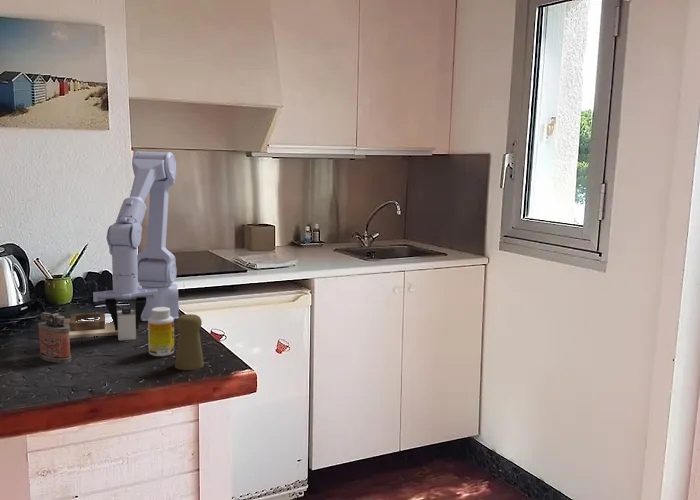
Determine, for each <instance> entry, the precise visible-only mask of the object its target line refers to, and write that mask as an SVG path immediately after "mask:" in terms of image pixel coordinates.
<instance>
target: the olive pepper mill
mask: <svg viewBox="0 0 700 500" xmlns="http://www.w3.org/2000/svg"><path fill="white" fill-rule="evenodd" d="M175 322H176V323H175V325H176V329H177V330H178V338H177V345H176V352H175V353H176V354H175V361H174V362H175V363H174V368H175V369H177V370H180V371H194V370H195V371H196V370H199V369H203V367H204V366H205V362H204V355H203V349H202V342H201V336H200V335H201V334H200V329H201V328H202V319H201V317H200V316H199V315H197V314H192V313H187V314H182V315H180V316H178V319H176V321H175Z"/></svg>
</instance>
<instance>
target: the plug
mask: <svg viewBox="0 0 700 500" xmlns="http://www.w3.org/2000/svg"><path fill="white" fill-rule="evenodd" d="M135 315H136V311H135V309H131V307H123V308H121V310H117V321H118V335H117V337H118V338H117V341H118V340H119V341H130V340H131V341H132V340H137V329H136V318H135Z"/></svg>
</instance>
